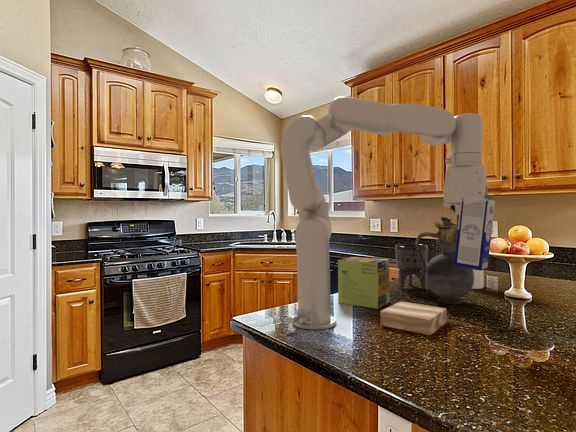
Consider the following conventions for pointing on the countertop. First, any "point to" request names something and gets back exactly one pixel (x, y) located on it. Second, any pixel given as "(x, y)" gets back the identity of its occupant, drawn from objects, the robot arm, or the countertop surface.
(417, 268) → the planter
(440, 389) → the countertop surface
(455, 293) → the pitcher
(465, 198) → the milk carton
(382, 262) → the protein box
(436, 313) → the oak block
